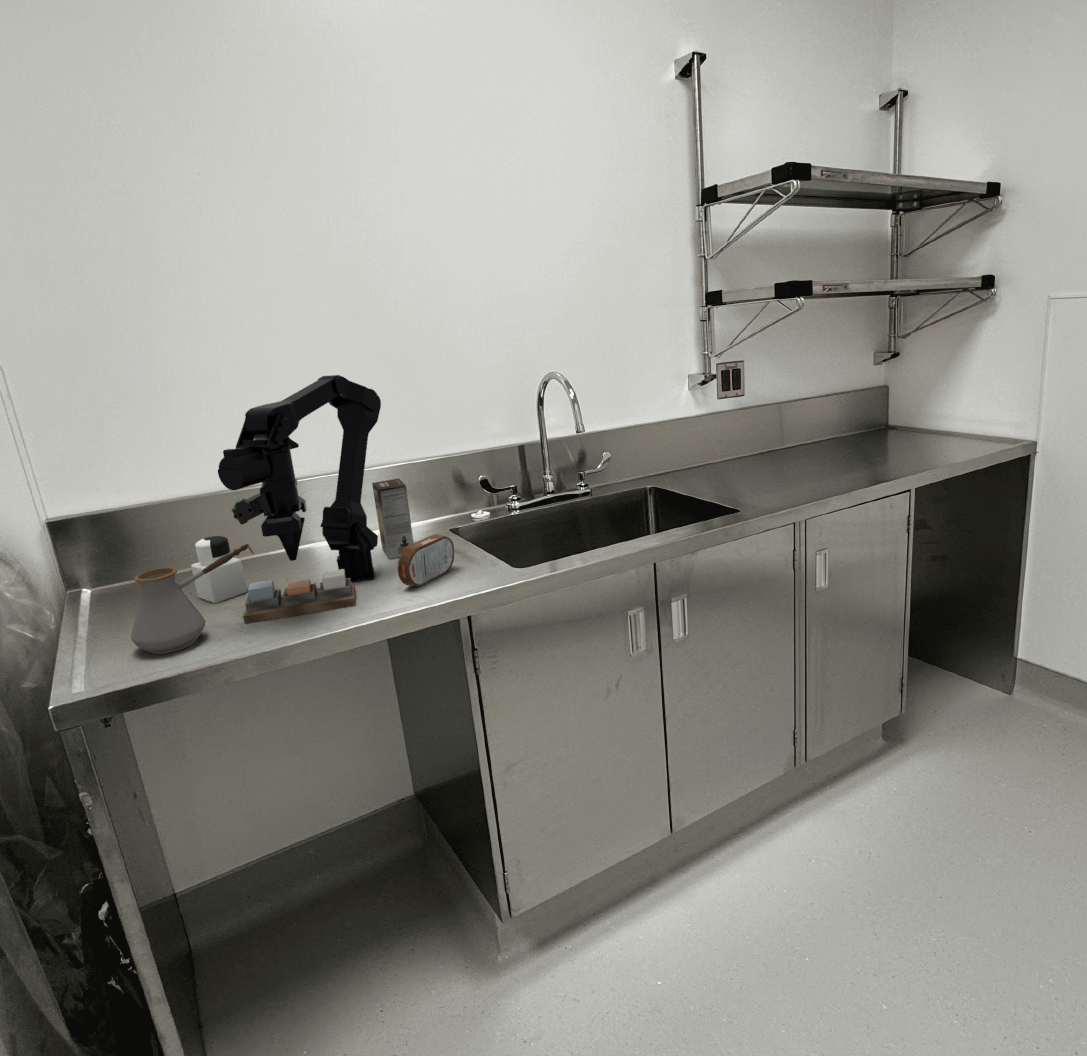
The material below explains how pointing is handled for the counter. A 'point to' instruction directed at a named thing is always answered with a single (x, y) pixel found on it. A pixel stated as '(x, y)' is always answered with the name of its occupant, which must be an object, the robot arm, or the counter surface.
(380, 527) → the coffee box
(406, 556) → the tin
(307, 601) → the button panel
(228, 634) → the counter surface
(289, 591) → the terracotta button
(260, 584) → the slate button
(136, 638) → the coffee pot
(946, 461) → the counter surface
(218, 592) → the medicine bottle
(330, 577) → the white button
